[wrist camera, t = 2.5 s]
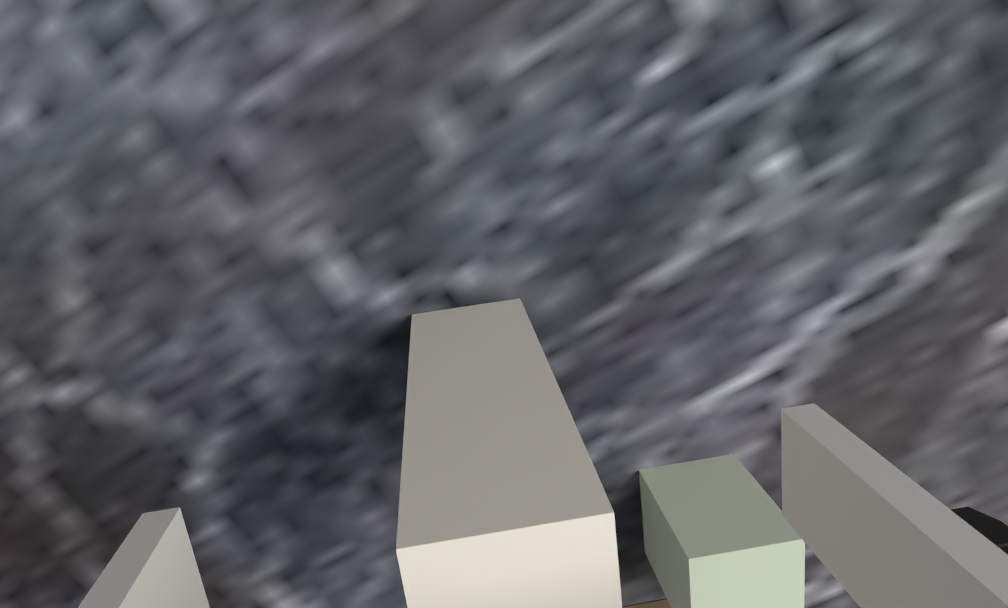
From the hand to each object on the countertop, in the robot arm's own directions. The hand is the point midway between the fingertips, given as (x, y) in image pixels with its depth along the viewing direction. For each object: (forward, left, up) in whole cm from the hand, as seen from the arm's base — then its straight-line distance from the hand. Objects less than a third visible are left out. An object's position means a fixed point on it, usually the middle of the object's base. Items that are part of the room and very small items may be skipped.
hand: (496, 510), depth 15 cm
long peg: (0, 0, -8) cm, 8 cm away
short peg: (+7, +7, -8) cm, 13 cm away
